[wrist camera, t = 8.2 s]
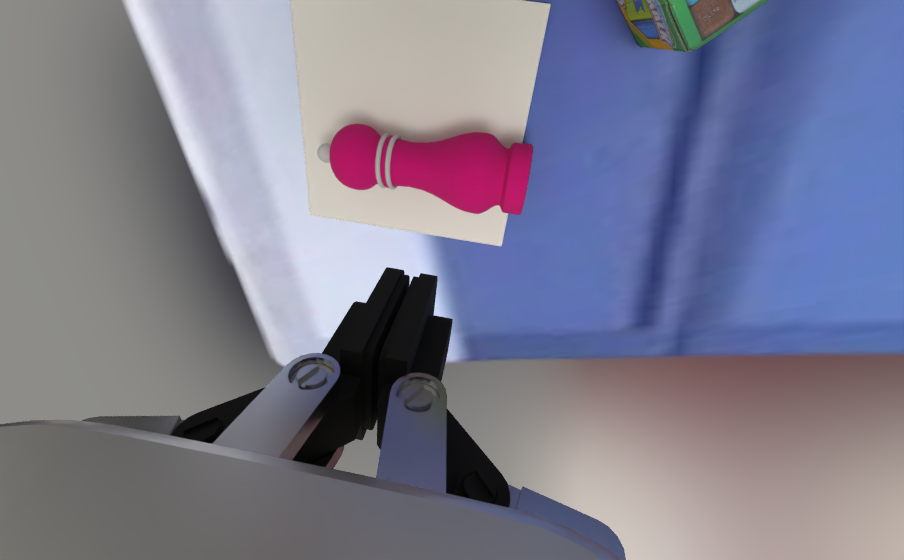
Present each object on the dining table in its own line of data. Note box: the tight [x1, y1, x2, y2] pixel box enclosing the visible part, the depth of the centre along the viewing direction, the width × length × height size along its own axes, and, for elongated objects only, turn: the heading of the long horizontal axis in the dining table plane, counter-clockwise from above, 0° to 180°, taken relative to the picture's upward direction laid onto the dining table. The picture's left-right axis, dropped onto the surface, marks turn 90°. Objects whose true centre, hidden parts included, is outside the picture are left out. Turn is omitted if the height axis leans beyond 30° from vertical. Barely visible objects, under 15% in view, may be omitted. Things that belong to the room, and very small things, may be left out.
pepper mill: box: [317, 124, 533, 215], centre depth 36 cm, size 7×7×20 cm
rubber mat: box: [291, 0, 551, 246], centre depth 38 cm, size 22×22×1 cm
